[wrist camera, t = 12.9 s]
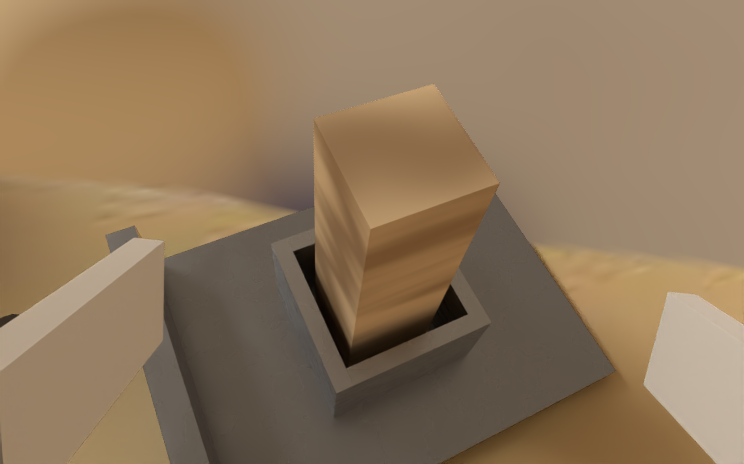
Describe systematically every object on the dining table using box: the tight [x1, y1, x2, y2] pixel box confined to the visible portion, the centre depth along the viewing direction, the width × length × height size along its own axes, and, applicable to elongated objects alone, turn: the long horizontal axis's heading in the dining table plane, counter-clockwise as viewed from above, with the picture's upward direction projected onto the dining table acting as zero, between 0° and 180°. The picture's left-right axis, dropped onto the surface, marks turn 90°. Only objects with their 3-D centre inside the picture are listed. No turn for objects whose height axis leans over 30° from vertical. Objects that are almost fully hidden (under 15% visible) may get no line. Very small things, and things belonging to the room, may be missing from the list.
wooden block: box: [314, 84, 500, 368], centre depth 24 cm, size 4×4×15 cm
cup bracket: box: [106, 194, 615, 464], centre depth 29 cm, size 16×22×6 cm
